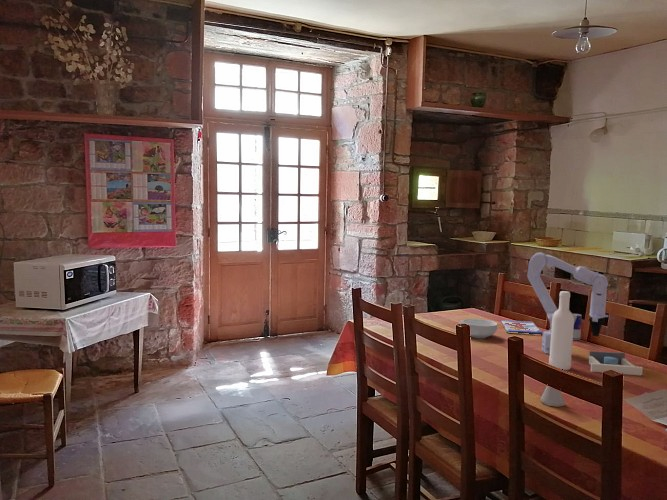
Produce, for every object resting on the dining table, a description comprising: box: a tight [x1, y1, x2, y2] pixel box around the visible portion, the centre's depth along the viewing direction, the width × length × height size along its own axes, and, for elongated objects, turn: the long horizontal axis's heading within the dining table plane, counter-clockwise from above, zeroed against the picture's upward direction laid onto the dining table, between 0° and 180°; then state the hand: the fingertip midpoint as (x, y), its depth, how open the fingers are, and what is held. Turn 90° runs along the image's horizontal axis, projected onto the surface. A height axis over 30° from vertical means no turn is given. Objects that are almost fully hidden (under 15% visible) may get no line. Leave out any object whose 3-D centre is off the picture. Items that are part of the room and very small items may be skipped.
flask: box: [540, 385, 566, 408], centre depth 170 cm, size 7×7×10 cm
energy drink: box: [572, 313, 583, 341], centre depth 252 cm, size 5×5×12 cm
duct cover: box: [588, 350, 626, 365], centre depth 214 cm, size 14×1×4 cm, turn 83°
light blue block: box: [603, 357, 619, 365], centre depth 209 cm, size 5×5×4 cm
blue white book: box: [500, 319, 543, 335], centre depth 270 cm, size 17×24×3 cm
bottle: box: [548, 290, 574, 371], centre depth 207 cm, size 8×8×30 cm
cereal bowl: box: [460, 318, 499, 339], centre depth 253 cm, size 17×17×7 cm
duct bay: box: [588, 355, 644, 376], centre depth 208 cm, size 18×12×3 cm, turn 80°
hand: (595, 335), depth 222 cm, fingers closed
